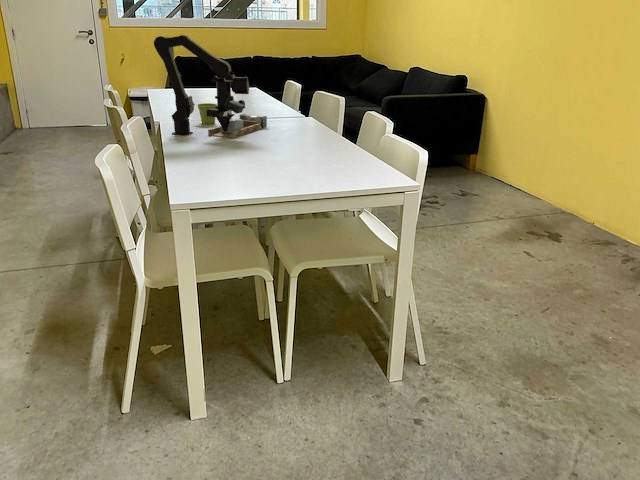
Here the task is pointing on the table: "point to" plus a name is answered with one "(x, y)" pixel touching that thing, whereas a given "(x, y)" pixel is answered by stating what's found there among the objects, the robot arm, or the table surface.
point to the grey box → (234, 125)
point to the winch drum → (255, 119)
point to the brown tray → (247, 128)
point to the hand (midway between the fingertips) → (225, 131)
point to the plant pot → (203, 109)
